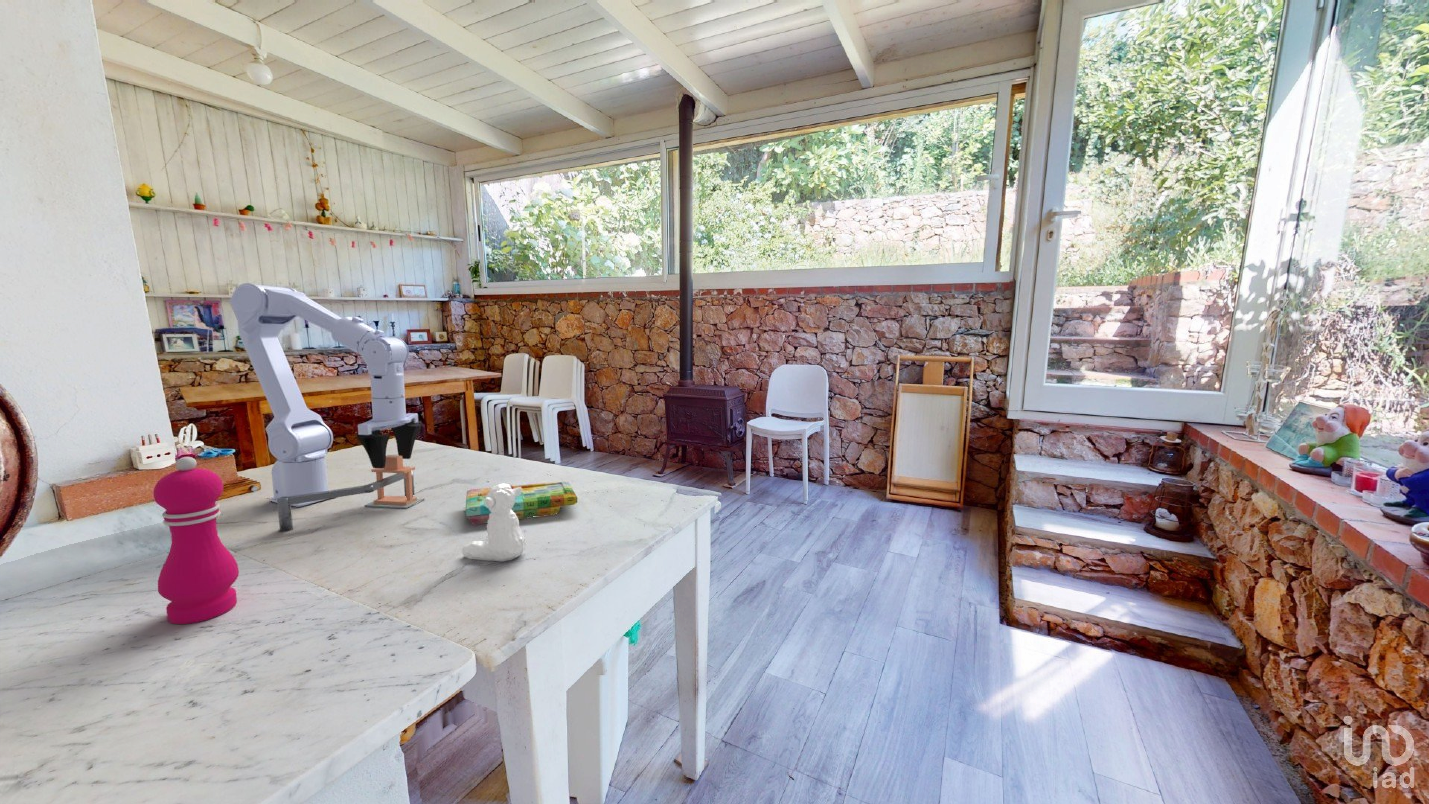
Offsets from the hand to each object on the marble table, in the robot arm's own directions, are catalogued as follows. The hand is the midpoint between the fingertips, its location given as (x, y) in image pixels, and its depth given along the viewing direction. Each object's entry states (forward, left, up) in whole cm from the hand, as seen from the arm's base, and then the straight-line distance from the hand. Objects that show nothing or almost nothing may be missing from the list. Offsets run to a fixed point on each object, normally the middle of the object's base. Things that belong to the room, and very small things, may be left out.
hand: (392, 463), depth 106 cm
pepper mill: (+16, -39, -9) cm, 43 cm away
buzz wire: (-1, -7, -9) cm, 11 cm away
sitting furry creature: (+38, -11, -9) cm, 40 cm away
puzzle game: (+27, +7, -9) cm, 29 cm away
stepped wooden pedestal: (0, 0, -8) cm, 8 cm away
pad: (0, 0, -8) cm, 9 cm away
